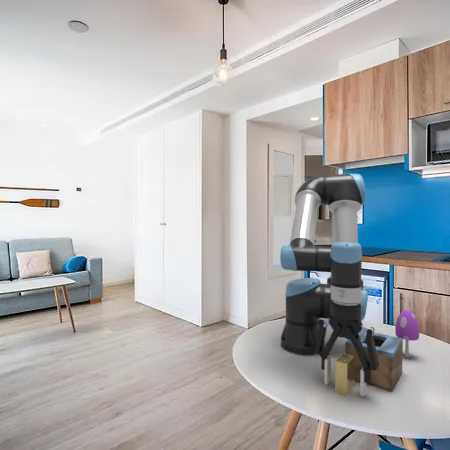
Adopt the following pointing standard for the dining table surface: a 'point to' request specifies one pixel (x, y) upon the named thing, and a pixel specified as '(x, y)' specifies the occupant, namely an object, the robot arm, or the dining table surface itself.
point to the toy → (407, 328)
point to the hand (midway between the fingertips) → (344, 387)
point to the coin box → (380, 360)
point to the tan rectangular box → (344, 374)
